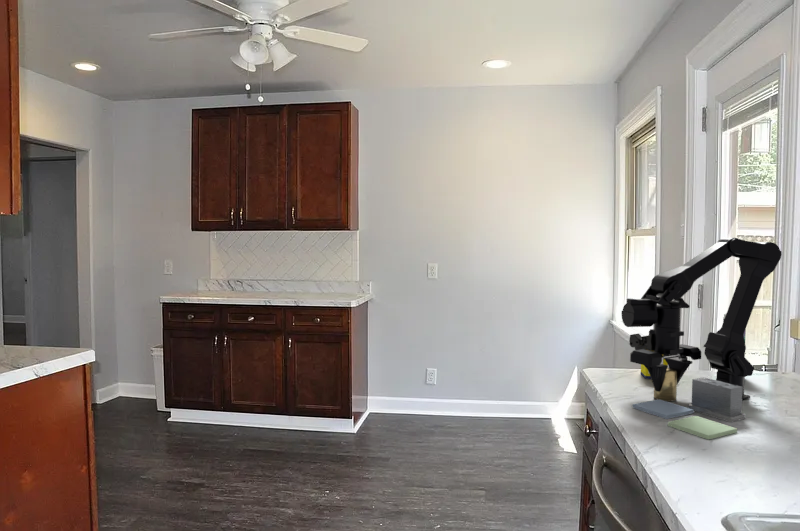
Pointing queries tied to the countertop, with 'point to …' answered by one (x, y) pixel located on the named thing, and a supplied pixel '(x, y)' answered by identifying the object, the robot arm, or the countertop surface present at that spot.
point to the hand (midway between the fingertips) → (665, 389)
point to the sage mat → (702, 427)
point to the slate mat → (663, 409)
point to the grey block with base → (717, 399)
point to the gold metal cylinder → (668, 386)
